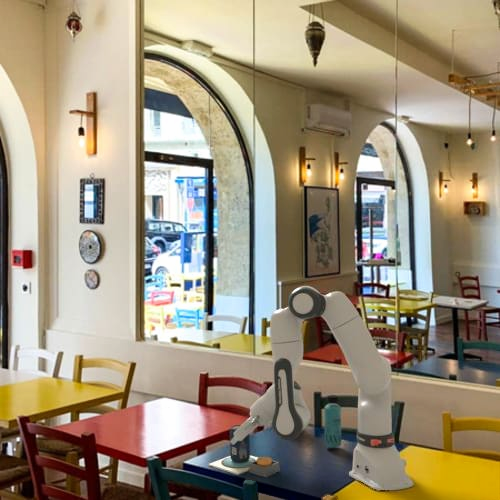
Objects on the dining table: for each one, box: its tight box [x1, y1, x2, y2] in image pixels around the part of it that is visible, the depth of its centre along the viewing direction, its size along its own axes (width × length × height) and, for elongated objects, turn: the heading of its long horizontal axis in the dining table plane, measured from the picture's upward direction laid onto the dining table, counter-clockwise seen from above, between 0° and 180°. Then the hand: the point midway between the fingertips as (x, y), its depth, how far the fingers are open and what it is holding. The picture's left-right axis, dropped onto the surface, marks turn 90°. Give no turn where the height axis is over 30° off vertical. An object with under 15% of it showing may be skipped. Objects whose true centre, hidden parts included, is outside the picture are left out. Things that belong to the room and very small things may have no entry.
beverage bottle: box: [323, 394, 343, 448], centre depth 237 cm, size 6×7×20 cm
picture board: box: [208, 454, 259, 476], centre depth 222 cm, size 14×16×1 cm
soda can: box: [229, 424, 251, 464], centre depth 223 cm, size 7×7×12 cm
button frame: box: [248, 459, 281, 478], centre depth 214 cm, size 8×8×3 cm
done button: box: [257, 456, 273, 467], centre depth 214 cm, size 5×5×2 cm
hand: (236, 438), depth 222 cm, fingers open, 8 cm apart
